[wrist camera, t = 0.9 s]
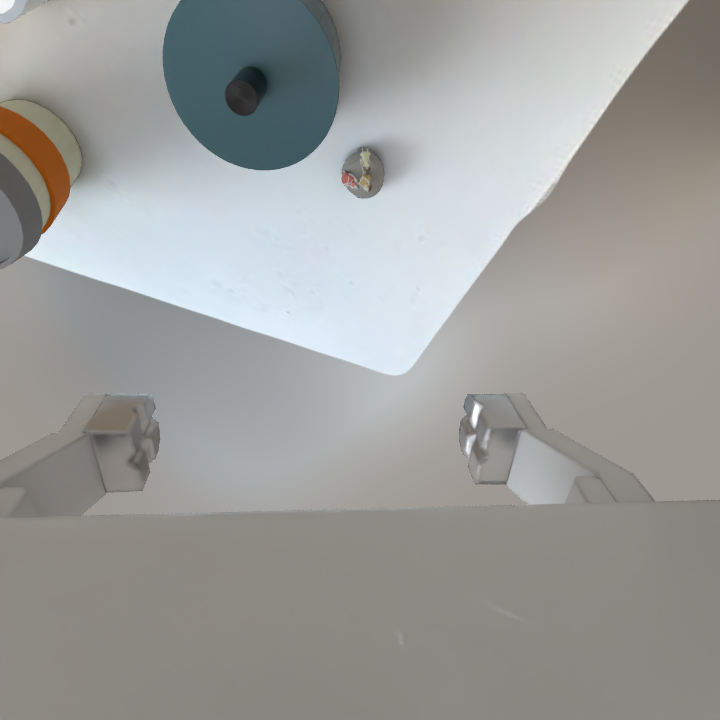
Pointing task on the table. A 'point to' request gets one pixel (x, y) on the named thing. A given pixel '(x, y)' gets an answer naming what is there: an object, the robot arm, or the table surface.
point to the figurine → (363, 173)
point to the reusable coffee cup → (32, 174)
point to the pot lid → (252, 78)
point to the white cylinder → (16, 8)
